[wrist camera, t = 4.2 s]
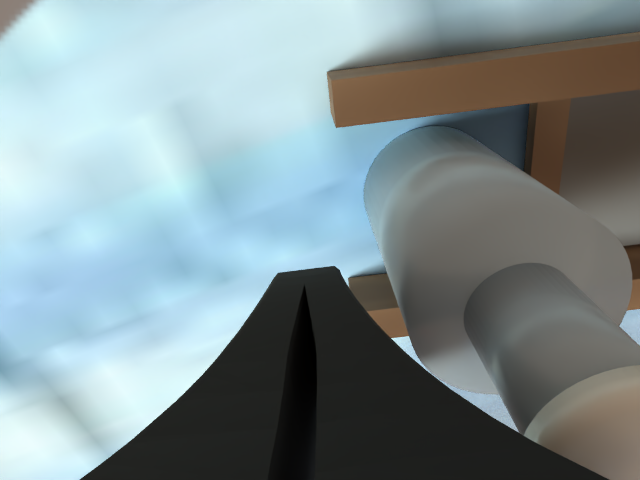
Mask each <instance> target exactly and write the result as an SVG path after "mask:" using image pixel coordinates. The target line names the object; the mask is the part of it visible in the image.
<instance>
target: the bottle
mask: <svg viewBox="0 0 640 480" xmlns="http://www.w3.org/2000/svg"><path fill="white" fill-rule="evenodd" d="M364 205H365V209H366V213H367V216H368V219H369V222H370V224H371V227H372V230H373V233H374V236H375V239H376V242H377V245H378V248H379V251H380V253H381V256H382V259H383V262H384V265H385V268H386V271H387V274H388V277H389V279H390V282H391V285H392V288H393V291H394V294H395V297H396V300H397V303H398V305H399V308H400V311H401V314H402V317H403V320H404V323H405V326H406V329H407V331H408V334H409V337H410V340H411V343H412V346H413V348H414V350H415V352H416V354H417V356H418V358H419V359H420V361H421V362H422V363H423V365H424V366H425V367H426V368H427V369H428V370H429V371H430V372H431V373H432V374H433V375H435V376H436V377H437V378H439V379H440V380H442V381H444V382H445V383H447V384H449V385H451V386H454V387H456V388H459V389H461V390H465V391H469V392H473V393H481V394H497V395H498V394H499V395H500V397H501V399H502V401H503V403H504V404H505V406H506V408H507V410H508V412H509V414H510V416H511V418H512V419H513V421H514V423H515V425H516V427H517V429H518V431H519V433H520V434H522V435H523V436H525V437H527V438H529V439H530V440H532V441H534V442H536V443H538V444H539V445H541V446H543V447H545V448H547V449H549V450H551V451H553V452H555V453H557V454H559V455H561V456H563V457H565V458H567V459H569V460H571V461H573V462H575V463H577V464H579V465H581V466H583V467H585V468H587V469H589V470H591V471H593V472H595V473H597V474H599V475H601V476H603V477H605V478H607V479H609V480H640V346H639V345H638V344H637V343H636V342H635V341H634V340H633V339H632V338H631V337H630V336H629V335H628V334H627V333H626V332H625V331H624V330H622V329H621V328H620V327H619V325H620V324H621V322H622V320H623V318H624V315H625V313H626V311H627V308H628V305H629V301H630V298H631V291H632V270H631V265H630V261H629V258H628V255H627V253H626V250H625V249H624V247H623V245H622V244H621V242H620V241H619V239H618V238H617V237H616V236H615V235H614V234H613V233H612V232H611V231H610V230H609V229H608V228H606V227H605V226H604V225H603V224H601V223H600V222H598V221H597V220H595V219H594V218H592V217H591V216H589V215H588V214H586V213H585V212H583V211H582V210H580V209H579V208H577V207H576V206H574V205H573V204H571V203H570V202H568V201H567V200H565V199H564V198H562V197H561V196H559V195H558V194H556V193H555V192H553V191H552V190H550V189H549V188H547V187H546V186H544V185H543V184H541V183H540V182H538V181H537V180H535V179H534V178H532V177H531V176H529V175H528V174H526V173H525V172H523V171H522V170H520V169H519V168H517V167H516V166H514V165H513V164H511V163H510V162H508V161H507V160H506V159H504V158H503V157H501V156H500V155H498V154H497V153H495V152H494V151H492V150H491V149H489V148H488V147H486V146H485V145H483V144H482V143H480V142H479V141H477V140H476V139H474V138H473V137H471V136H470V135H468V134H466V133H464V132H462V131H460V130H457V129H454V128H450V127H446V126H427V127H421V128H417V129H414V130H411V131H408V132H406V133H404V134H402V135H400V136H399V137H397V138H396V139H394V140H393V141H391V142H390V143H389V144H388V145H386V146H385V148H384V149H383V150H382V151H381V152H380V153H379V154H378V155H377V157H376V158H375V159H374V161H373V163H372V165H371V166H370V169H369V171H368V174H367V176H366V180H365V184H364Z"/></svg>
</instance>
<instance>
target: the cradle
mask: <svg viewBox="0 0 640 480" xmlns="http://www.w3.org/2000/svg"><path fill="white" fill-rule="evenodd" d="M327 79H328V88H329V98H330V108H331V114H332V117H333V120H334V123H335V126H336V128H339V127H347V126H354V125H362V124H370V123H378V122H386V121H394V120H402V119H410V118H418V117H426V116H434V115H442V114H450V113H458V112H466V111H473V110H481V109H489V108H497V107H505V106H513V105H521V104H529V103H530V107H529V118H528V129H527V141H526V152H525V164H524V172H525V173H526V174H528V175H529V176H531V177H532V178H534V179H535V180H537V181H538V182H540V183H541V184H543V185H544V186H546V187H547V188H549V189H550V190H552V191H553V192H555V193H556V194H558V195H559V196H561V197H562V198H564V199H565V200H567V201H568V202H570V203H571V204H573V205H574V206H576V207H577V208H579V209H580V210H582V211H583V212H585V213H586V214H588V215H589V216H591V217H592V218H594V219H595V220H597V221H598V222H600V223H601V224H603V225H604V226H605V227H606V228H608V229H609V230H610V231H611V232H612V233H613V234H614V235H615V236H616V237H617V238H618V239H619V241H620V242H621V244H622V245H623V247H624V249H625V250H626V253H627V255H628V258H629V261H630V265H631V270H632V291H631V298H630V301H629V305H628V308H627V310H634V309H640V32H634V33H626V34H618V35H610V36H603V37H595V38H587V39H579V40H571V41H564V42H556V43H548V44H540V45H532V46H525V47H517V48H509V49H501V50H493V51H486V52H478V53H470V54H462V55H455V56H447V57H439V58H431V59H423V60H416V61H408V62H400V63H392V64H384V65H377V66H369V67H361V68H353V69H345V70H338V71H330V72H327ZM348 281H349V289H350V290H351V291H352V293H353V294H354V296H355V297H356V299H357V300H358V301H359V303H360V304H361V305H362V306H363V307H364V309H365V310H366V311H367V312H368V314H369V315H370V316H371V317H372V318H373V320H374V321H375V322H376V323H377V324H378V325H379V326H380V327H381V328H382V330H383V331H384V332H385V333H386V334H387V335H388V336H389V337H390V338H396V337H404V336H409V334H408V331H407V329H406V326H405V323H404V320H403V317H402V314H401V311H400V308H399V305H398V303H397V300H396V297H395V294H394V291H393V288H392V285H391V282H390V279H389V277H388V274H387V273H385V274H377V275H369V276H360V277H352V278H348Z"/></svg>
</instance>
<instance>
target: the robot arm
mask: <svg viewBox="0 0 640 480" xmlns="http://www.w3.org/2000/svg"><path fill="white" fill-rule="evenodd" d="M80 480H609V479H607V478H605V477H603V476H601V475H599V474H597V473H595V472H593V471H591V470H589V469H587V468H585V467H583V466H581V465H579V464H577V463H575V462H573V461H571V460H569V459H567V458H565V457H563V456H561V455H559V454H557V453H555V452H553V451H551V450H549V449H547V448H545V447H543V446H541V445H539V444H538V443H536V442H534V441H532V440H530V439H529V438H527V437H525V436H523V435H522V434H520V433H518V432H517V431H515V430H513V429H511V428H510V427H508V426H506V425H505V424H503V423H501V422H499V421H498V420H496V419H494V418H493V417H491V416H489V415H488V414H486V413H485V412H483V411H482V410H481V409H479V408H478V407H476V406H475V405H473V404H472V403H470V402H469V401H467V400H466V399H464V398H463V397H461V396H460V395H458V394H457V393H455V392H454V391H452V390H451V389H450V388H448V387H447V386H446V385H444V384H443V383H442V382H440V381H439V380H438V379H437V378H435V377H434V376H433V375H431V374H430V373H429V372H428V371H426V370H425V369H424V368H423V367H422V366H421V365H419V364H418V363H417V362H416V361H415V360H413V359H412V358H411V357H410V356H409V355H408V354H407V353H406V352H405V351H403V350H402V349H401V348H400V347H399V346H398V345H397V344H396V343H395V342H394V341H393V340H392V339H391V338H390V337H389V336H388V335H387V334H386V333H385V332H384V331H383V330H382V328H381V327H380V326H379V325H378V324H377V323H376V322H375V321H374V320H373V318H372V317H371V316H370V315H369V314H368V312H367V311H366V310H365V309H364V307H363V306H362V305H361V304H360V303H359V301H358V300H357V299H356V297H355V296H354V294H353V293H352V291H351V290H350V289H349V287H348V285H347V284H346V282H345V281H344V279H343V277H342V275H341V273H340V270H339V269H337V268H336V267H335V266H330V267H322V268H314V269H306V270H298V271H290V272H282V273H278V274H277V275H276V276H275V277H274V279H273V280H272V282H271V284H270V285H269V287H268V289H267V290H266V292H265V293H264V295H263V297H262V298H261V300H260V301H259V303H258V304H257V306H256V307H255V309H254V310H253V312H252V313H251V314H250V316H249V317H248V319H247V320H246V322H245V323H244V324H243V326H242V327H241V329H240V330H239V331H238V333H237V334H236V335H235V337H234V338H233V339H232V340H231V341H230V343H229V344H228V345H227V346H226V348H225V349H224V350H223V351H222V353H221V354H220V355H219V356H218V358H217V359H216V360H215V361H214V362H213V364H212V365H211V366H210V367H209V368H208V369H207V370H206V371H205V373H204V374H203V375H202V376H201V377H200V378H199V379H198V380H197V381H196V382H195V383H194V384H193V385H192V386H191V387H190V388H189V389H188V390H187V391H186V392H185V393H184V394H183V395H182V396H181V397H180V398H179V399H178V400H177V401H176V402H175V403H173V404H172V405H171V406H170V407H169V408H168V409H167V410H165V411H164V412H163V413H162V414H161V415H160V416H159V417H157V418H156V419H155V420H154V421H153V422H152V423H151V424H149V425H148V426H147V427H146V428H145V429H144V430H143V431H141V432H140V433H139V434H138V435H137V436H136V437H135V438H133V439H132V440H131V441H130V442H128V443H127V444H126V445H125V446H123V447H122V448H121V449H120V450H118V451H117V452H116V453H115V454H113V455H112V456H111V457H109V458H108V459H107V460H106V461H104V462H103V463H102V464H100V465H99V466H98V467H96V468H95V469H94V470H92V471H91V472H89V473H88V474H87V475H85V476H84V477H83V478H81V479H80Z"/></svg>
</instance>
